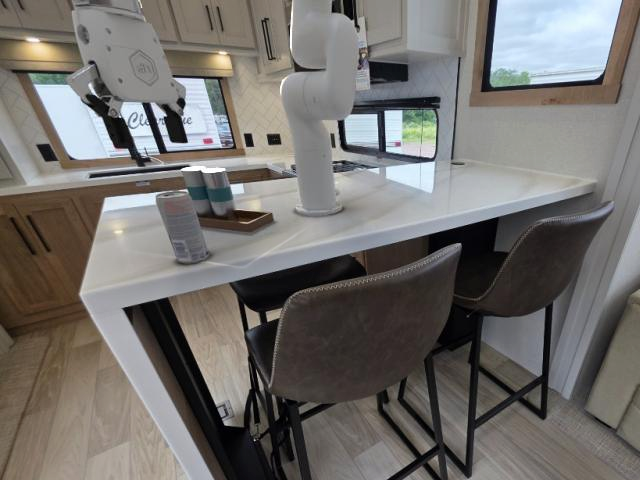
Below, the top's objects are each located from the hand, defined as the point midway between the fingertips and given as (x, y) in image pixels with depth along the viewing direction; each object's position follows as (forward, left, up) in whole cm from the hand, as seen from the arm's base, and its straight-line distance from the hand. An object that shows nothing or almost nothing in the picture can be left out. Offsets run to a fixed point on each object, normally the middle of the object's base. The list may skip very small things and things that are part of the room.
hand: (154, 145), depth 52 cm
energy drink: (0, 0, -20) cm, 20 cm away
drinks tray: (-19, -8, -20) cm, 29 cm away
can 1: (-19, -14, -19) cm, 31 cm away
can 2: (-19, -8, -19) cm, 28 cm away
